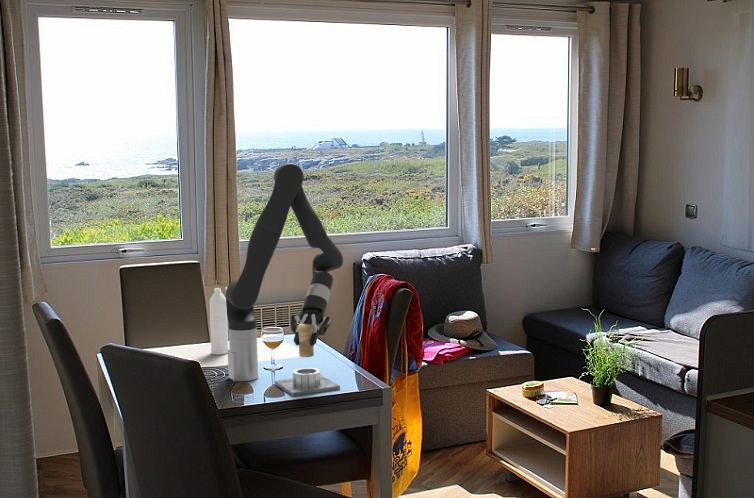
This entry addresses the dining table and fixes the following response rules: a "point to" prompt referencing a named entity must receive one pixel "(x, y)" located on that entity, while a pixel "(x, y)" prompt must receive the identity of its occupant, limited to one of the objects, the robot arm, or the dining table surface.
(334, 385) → the socket board
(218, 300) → the water bottle
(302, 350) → the plug
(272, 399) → the dining table surface
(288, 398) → the dining table surface
